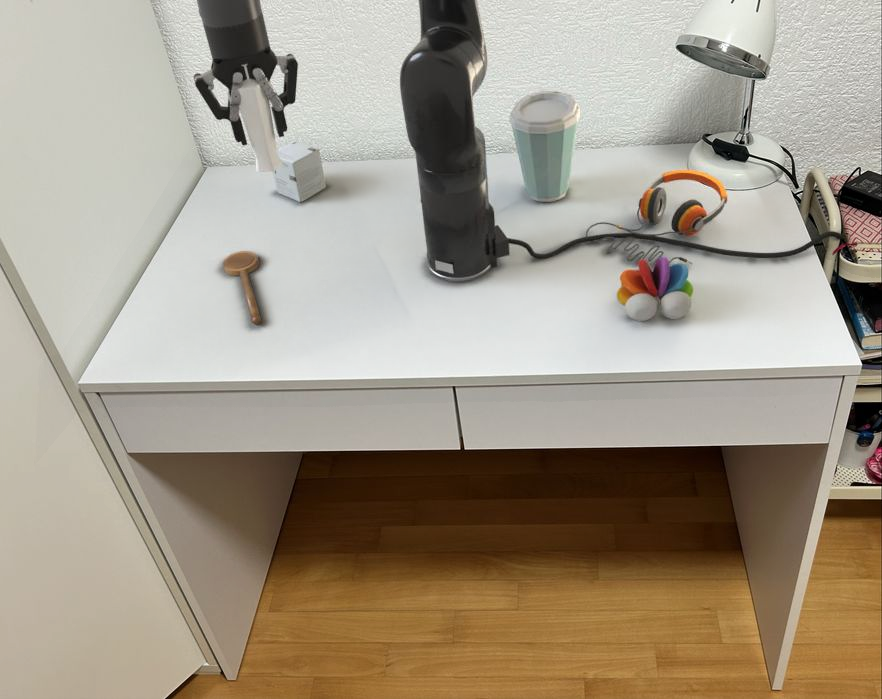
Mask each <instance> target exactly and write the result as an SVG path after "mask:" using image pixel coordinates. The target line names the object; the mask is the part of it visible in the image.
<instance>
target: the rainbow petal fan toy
mask: <svg viewBox="0 0 882 699" xmlns="http://www.w3.org/2000/svg"><path fill="white" fill-rule="evenodd" d="M657 258H658V257H657ZM669 261H670V260H669V258H667V257H665V256H661V257H660V258H658V260H657V261H656V264H655V266H654V265H653V270H652V268H651V265H650V264H649V263H648V262H649V261H648V260H646V259H645V258H644V259H642V258H640V259H639V260H638V264H637V266H638V267H631V268H629V269H625V270H623V271H622V272H621V273H620V276H619V280H620V288H618V290H617V292H616V298H617V301H618V303H620V304H621V305H622V306H624V307H625V308H624V309H625V312H626V314H627V315H628V317H630V318H631V319H633V320H634V321H638V322H644V321H648V320H649V319H652V318H653V317H654V315H655V314H656V313H657V310H658V309H659V311H660V312H661V314H662V315H663V316H664V317H666V318H668V319H671V320H678V319H681V318H683V317H685V316H686V315H687V314H688V313H689V311H690V310H691V307H692V299H691V297H692V295H693V294H694V286H693V284H692V282H691V281H689V279H688V277H689V268H688V267H687V266H686V265H685V264H684V263H674V264H671V263H669ZM657 297H658V300H659V303H658V301H657V299H656V298H657Z"/></svg>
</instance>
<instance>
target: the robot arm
mask: <svg viewBox="0 0 882 699" xmlns="http://www.w3.org/2000/svg"><path fill="white" fill-rule="evenodd" d="M196 3H197V7H198V14H199V16H200V18H201V22H202V26H203V29H204V33H205V37H206V40H207V44H208V47H209V51H210V54H211V59H212V61H211V64H210V65H211V66H210V69H209V70H207V71H205V72H203V73H199V72H198V73H195V74H194V75H193V81H194V86H195V87H196V89H197V91H198V92H199V94H200V95H201V97H202V99H203V100H204V102H205V103H206V105H207V106H208V107H207V108H209V110H210V111H211V113H212V115H213V116H214V118H215V119H216V120H218V121H222V120H227V121H229V122H230V126H231V130H232V134H233V137H234V140H235V141H236V142H237V143H241V146H247V145H248V142H247V137H246V134H245V129H244V126H243V122H242V119H241V116H240V109H239V105H240V103H241V95H240V93H239V91H238V90H237V91H236V89H239V88H241V87H242V82H243V81H244V80H246V79H247V76H246V73H245V69H244V66H241V65H244V64H247V66H246V67H247V71H248V75H249V79H253V80H257V81H258V83H259V85H260V86H261V88H262V89H263V91H264V93H265V94H266V96H267V98H268V99H269V103H270V105H271V106H270V109H271V114H272V116H273V117H272V118H273V121H274V126H275V130H276V133H277V135H278V137H279V138H282V137H285V133H287V131H288V124H287V121H286V120H287V119H286V115H285V111H284V110H285V107H287V106H288V105H292V104H295V102H296V96H297V83H298V72H299V71H298V70H299V62H298V60H297V59H296V56H295V55H294V54H293V53H288V54H286V55H276V54H275V51H274V50H272V48H271V44H270V40H269V35H268V31H267V26H266V22H265V18H264V12H263V9H262V4H261V0H196ZM418 7H419V9H418V10H419V19H420V20H419V22H420V38H419V42H418V43H417V44H416V45H415V46H414V47H413V48H412V50H410V52H409V53H408V54H407V55H406V57H405V58H404V60H403V62H402V64H401V68H400V73H399V90H400V99H401V104H402V110H403V111H402V112H403V117H404V123H405V128H406V133H407V134H406V135H407V138H408V141H409V144H410V146H411V147H412V149H413V151H414V153H415V161H416V162H415V163H416V169H417V177H418V186H419V194H420V204H421V212H422V220H423V229H424V230H423V231H424V237H425V246H426V258H427V268H428V271H429V272H430V274H431V275H432V276H434V277H435V278H437V279H439V280H442V281H445V282H449V283H464V282H470V281H474V280H477V279H479V278H481V277H483V276H484V275H486V274H487V273H489V271H490V270H492V269H494V268H496V267H498V259H500V258H504V257H506V256H510V245H516V246H519V247H522V248H524V249H526V251H527V253H528V254H529V255H530V257H532V258H534V259H536V260H546V259H550V258H553V257H555V256H557V255H559V254H562V253H564V251H567V250H568V249H570V248H572V247H574V246H576V245H581V244H583V243H588V242H589V243H590V241H596V240H599V239H602V238H605V237H614V238H615V239H625V238H627V237H632V238H633V239H635V240H636V239H637V240H646V241H651V242H652V241H654V242H658V243H663V244H668V245H674V246H679V247H683V248H689V249H694V250H697V251H698V250H699V251H703V252H708V253H711V254H712V253H713V254H717V255H722V256H731V257H737V258H738V257H739V258H750V259H781V258H787V257H792V256H795V255H799V254H801V253H803V252H805V251H807V250H809V249H810V248H812V247H814V246H815V245H816V244H818V243H819V242H821V241H822V240H824V239H827V238H830V237H831V238H832V237H833V238H836V239H837V240H844V239H845V237H844V236H843V234H841V233H840V232H838V231H834V230H833V231H832V230H829V231H826V232H823V233H821V234H819V235H817V236H815V238H813V239H811V240H810V241H808V242H807V243H805V244H803V245H801V246H799V247H797V248H795V249H791V250H786V251H778V252H776V251H775V252H753V251H742V250H741V251H740V250H732V249H726V248H725V249H724V248H718V247H713V246H708V245H704V244H699V243H695V242H690V241H686V240H679V239H673V238H669V237H663V236H660V235H659V236H644V235H638V234H633V233H630V232H614V233H613V232H612V233H611V232H610V233H602V234H595V235H587V236H588V237H586V236H583V237H580V238H576V239H573V240H571V241H569V242H567V243H565V244H563V245H561V246H560V247H559V248H557V249H554V250H553V251H550V252H548V253H537V252H535V250H534V249H533V248H532V246H531V245H530V244H529V243H527V242H525V241H523V240H521V239H516V238H511V237H508V236H507V235H506V234H505V232H504V231H503V230H502V229H501V227H500V226H499V225H498V224H497V225H496V217H495V209H494V206H492V204H491V203H490V200H489V184H488V182H489V181H488V168H487V167H488V166H487V150H486V137H485V135H484V133H483V132H482V130H481V128H479V127H477V126H476V121H475V113H474V101H473V100H474V98H473V97H474V96H475V94H476V93H477V91H478V90H479V88H480V87H481V86H482V84H483V82H484V80H485V77H486V75H487V69H488V52H487V46H486V39H485V35H484V30H483V24H482V20H481V16H480V15H481V14H480V9H479V4H478V0H418ZM277 66H279V69H280V71H281V73H282V74H283V75H284V77H283V88H282V90H283V92H281V93H279V94H278V93H277V91H276V89H275V88H274V86H273V85H272V83H271V79H272V76H273V74H274V72H275V70H276V67H277ZM215 79H216V80H217V81H219V82H220V83H221V84H222V85H223V86H225V87H226V88H227V106H223V105H221V104H220V102H219V101H218V99H217V97H216V96H215V94H214V92H213V90H214V88H215V85H214V80H215ZM236 96H237V97H236ZM609 239H610V240H613V239H612V238H608V239H607V240H609Z"/></svg>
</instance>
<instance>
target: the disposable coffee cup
mask: <svg viewBox="0 0 882 699" xmlns="http://www.w3.org/2000/svg"><path fill="white" fill-rule="evenodd" d="M580 118H581V110H580V107H579V106H578V105H577V101H576V100H575V99H574V97H573V96H572V95H571V94H569V93H566V92H562V91H557V90H541V91H537V92H533V93H530V94H526V96H524V97H522V98H521V99H519V100H517V102H515V104H514V106H513V107H512V110H511V111H510V114H509V120H508V122H509V123H510V125H511V129H512V133H513V137H514V142H515V147H516V152H517V157H518V160H519V165H520V169H521V174H522V180H523V183H524V187H525V191H526V192H527V194H528V196H529V197H530V199H532V200H534V201H537V202H541V203H542V202H544V203H550V202H554V201H555V202H556V201H559V200H561V199H562V198H564V197H565V196H566V195H567V192H568V191H569V187H570V183H571V181H570V180H571V174H572V168H573V161H574V153H575V147H576V140H577V131H578V127H579V126H578V124H579V121H580Z"/></svg>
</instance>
